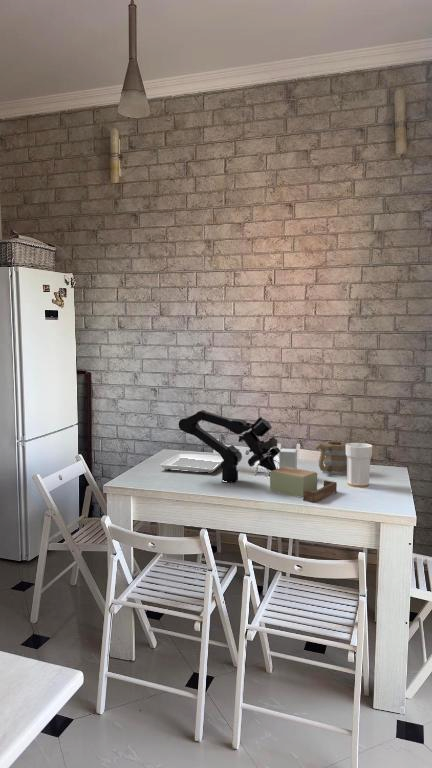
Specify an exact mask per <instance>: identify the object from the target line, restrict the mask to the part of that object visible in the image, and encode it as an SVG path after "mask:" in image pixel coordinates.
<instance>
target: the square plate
mask: <svg viewBox="0 0 432 768" xmlns="http://www.w3.org/2000/svg"><path fill="white" fill-rule="evenodd" d="M180 458H188V459H195V460H204V461H212V462H220V463H219V464H217V465H216V466H215V467H214V468H213V469H207V468H199V467H191V466H177V465H172V464H173V463H175V462H176V461H178V460H179V459H180ZM223 461H224V460H223V459H222V457H221V455H209V454H197V453H196V454H195V453H193V454H192V453H177V454H176V455H174V456H172V457H170V458H168V459H166V460H164V461H163V462H162V463H160V464H159V466H160V467H161V468H162V469H164V468H166V469H165V470H168V469H179V470H188V471H198V472H208V473H207V474H210V473H213V472H214V471H216V470H217V469H218V468H219V467H221V465H220V464H221V463H222V462H223Z"/></svg>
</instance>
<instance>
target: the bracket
mask: <svg viewBox="0 0 432 768" xmlns="http://www.w3.org/2000/svg"><path fill="white" fill-rule="evenodd" d="M337 486H338V485H337V482H336V481H331V480H325V479H324V480H323V487H321V488H319V489H318V488H317V490H316V491H309V490H303V497H302V501H304V502H310V503H314V504H315V503H318V502H320V501H321V500H323V499H325V498H327V497H329V496H331V495H333V494H335V493H337V488H338V487H337Z"/></svg>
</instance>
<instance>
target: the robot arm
mask: <svg viewBox="0 0 432 768" xmlns="http://www.w3.org/2000/svg"><path fill="white" fill-rule="evenodd" d="M201 421H204V422H207V423H211V424H214V425H216V426H220V427H223V428H226V429H227V430H228V431H230V432H232V433H233V434H236V435H239V436H238V443H243V442H244V443H245V444H246V446H247V447H248V452H249V453H253V455H252V456H251V457H250V458H249V459H248V460H247V464H248V465H249V467H254V466H255V464H256V462H258V461H259V463H258V466H260V467H262V468H264V469H266V470H268V471H269V472H271V471H273V470H276V469H278V468H277V466H276V463H275V461H274V458H275V457H277V455H279V452H280V450H281V449H279V447H278V442H279V441H278V439H276V438H275V437H274V436H273V437H271V438H269V439H268V440H267V441H264V440H261V439H260V438H259V437H264V435H266V434H267V433H268V432H269V431H270V430H272V425H271V423H270V422H269V421H268V420H266V419H264V418H263V417H262V416H260V417H259V418H257V420H256V421H255V422H253V423H251V422H247V421H246V420H245V419H241V418H229V417H225V416H222V415H220V414H216V413H213V412H209V411H206V410H205V409H201V410H199V411H197V412H196V413H194V414H193V415H191V416H186V417H184V418H181V419H180V420H179V422H178V428H179V430H180V431H182V432H184V433H186V434H187V435H191V436H194V437H196V438H197V439H199V440H200V441H201V442H202V443H204V444H206V445H207V446H208V447H209V448H211V449H212V450H214V451H215V452H216V453H218V455H219V456H221V457H222V459H223V460H224V461H223V462H222V463H221V464H220V468H221V473H222V475H221V481H222V480H224V481H227V482H226V483H231V482H236V481H237V482H238V481H239V470H238V469H237V468H238V467H237V466H239V463H240V462H241V461H242V460H243V455H242V452H241V450H240V449H238V448H237V447H235V446H234V445H233V444H231V445H230V446H228V445H225V444H224V443H223V442H221V441H220V440H218V439H217V438H216V437H214V436H212V434H210V433H208V432H207V430H204V429H203V428H202V427H201V426H200V424H199V423H200V422H201ZM241 434H242V435H241ZM237 482H236V483H237Z"/></svg>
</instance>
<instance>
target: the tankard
mask: <svg viewBox="0 0 432 768" xmlns="http://www.w3.org/2000/svg"><path fill="white" fill-rule="evenodd" d="M347 443H348V442H345V441H339V440H338V441H336V440H334V441H332V440H330V441H326V442H325V445H323V444H322V443H317V444H316V445H315V447H314V448H315V450H318V451H319V450H320V456H319V458H318V466H319V469H320V471H322V474H326V475H329V476H339V477H340V476H342V477H343V476H347V456H346V444H347Z"/></svg>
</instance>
